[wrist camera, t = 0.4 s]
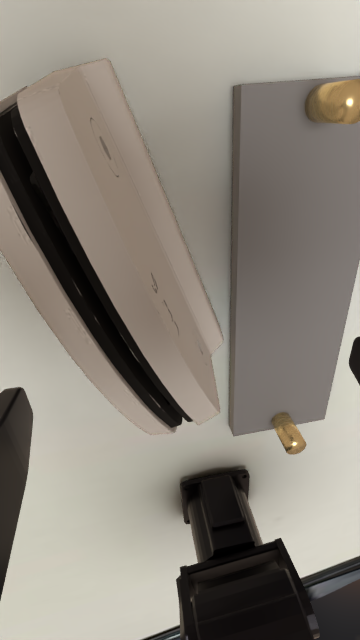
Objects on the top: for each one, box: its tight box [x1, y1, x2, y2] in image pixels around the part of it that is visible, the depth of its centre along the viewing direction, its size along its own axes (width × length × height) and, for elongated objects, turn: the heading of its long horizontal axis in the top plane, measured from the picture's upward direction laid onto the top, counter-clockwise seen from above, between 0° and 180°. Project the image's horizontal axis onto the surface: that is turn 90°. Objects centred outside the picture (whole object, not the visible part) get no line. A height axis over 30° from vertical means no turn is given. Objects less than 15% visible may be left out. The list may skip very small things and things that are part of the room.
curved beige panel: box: [0, 58, 224, 435], centre depth 16 cm, size 17×5×10 cm, turn 22°
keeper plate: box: [229, 76, 360, 454], centre depth 22 cm, size 24×8×4 cm, turn 4°
